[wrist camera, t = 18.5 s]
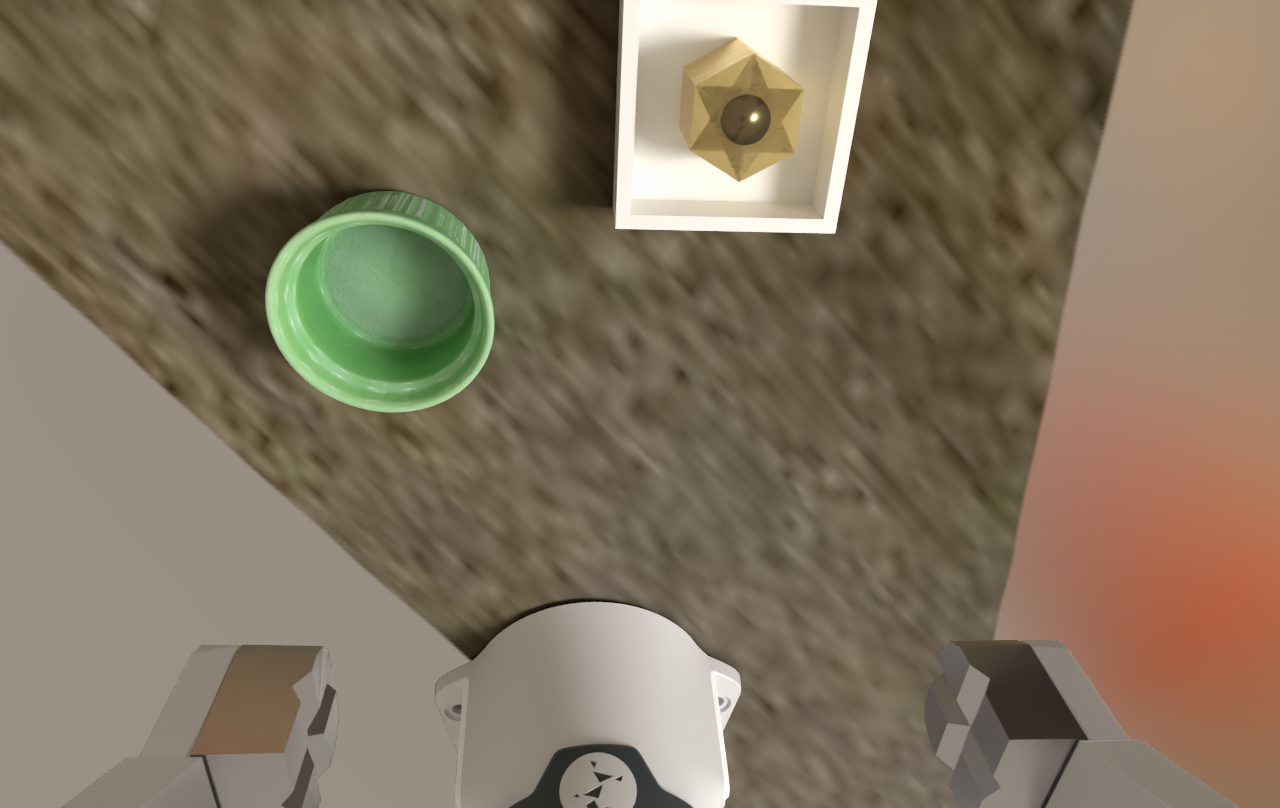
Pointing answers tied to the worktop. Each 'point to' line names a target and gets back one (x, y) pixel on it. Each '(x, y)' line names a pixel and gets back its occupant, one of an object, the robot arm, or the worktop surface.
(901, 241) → the worktop surface
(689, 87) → the tan faceted block
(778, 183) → the ceramic dish
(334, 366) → the ramekin
